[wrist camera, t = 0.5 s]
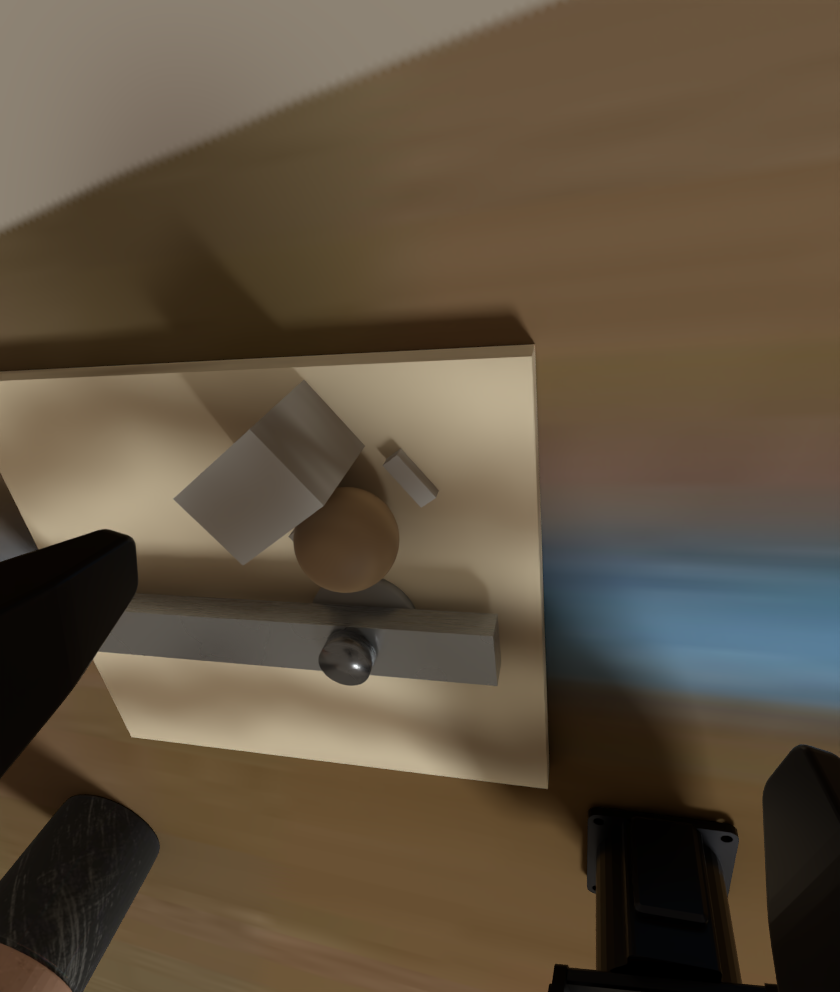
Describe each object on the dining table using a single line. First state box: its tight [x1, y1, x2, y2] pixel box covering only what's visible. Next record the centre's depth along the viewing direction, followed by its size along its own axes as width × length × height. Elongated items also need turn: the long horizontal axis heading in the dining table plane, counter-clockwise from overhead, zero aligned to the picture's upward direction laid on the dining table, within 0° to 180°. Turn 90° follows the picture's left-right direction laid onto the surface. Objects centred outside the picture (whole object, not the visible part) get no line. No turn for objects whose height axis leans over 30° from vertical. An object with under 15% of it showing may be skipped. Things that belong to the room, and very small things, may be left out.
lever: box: [98, 593, 501, 686], centre depth 24 cm, size 21×3×7 cm, turn 97°
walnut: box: [293, 487, 400, 593], centre depth 22 cm, size 4×4×4 cm
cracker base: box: [0, 344, 549, 789], centre depth 26 cm, size 20×22×5 cm
